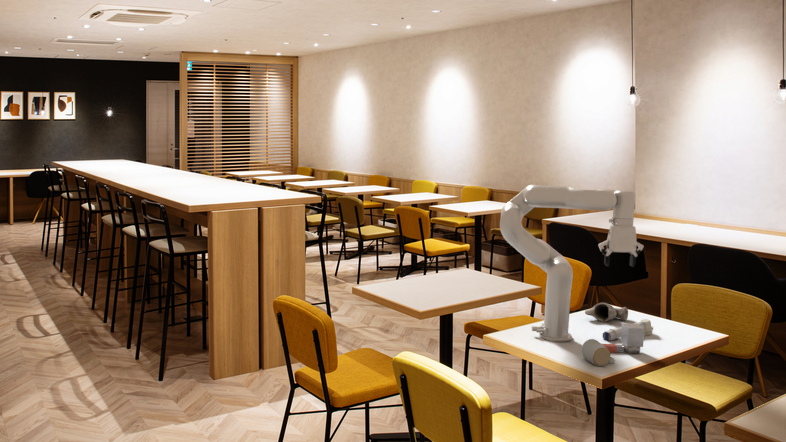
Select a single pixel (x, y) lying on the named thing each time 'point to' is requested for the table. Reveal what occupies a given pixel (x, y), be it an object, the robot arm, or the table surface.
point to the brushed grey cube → (632, 335)
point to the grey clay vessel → (607, 312)
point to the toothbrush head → (616, 332)
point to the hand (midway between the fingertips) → (619, 266)
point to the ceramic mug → (596, 353)
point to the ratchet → (622, 349)
